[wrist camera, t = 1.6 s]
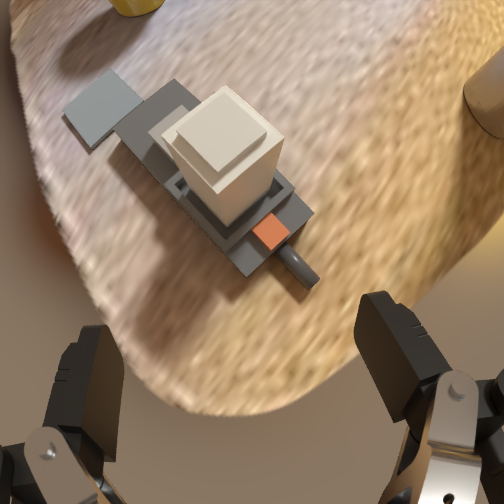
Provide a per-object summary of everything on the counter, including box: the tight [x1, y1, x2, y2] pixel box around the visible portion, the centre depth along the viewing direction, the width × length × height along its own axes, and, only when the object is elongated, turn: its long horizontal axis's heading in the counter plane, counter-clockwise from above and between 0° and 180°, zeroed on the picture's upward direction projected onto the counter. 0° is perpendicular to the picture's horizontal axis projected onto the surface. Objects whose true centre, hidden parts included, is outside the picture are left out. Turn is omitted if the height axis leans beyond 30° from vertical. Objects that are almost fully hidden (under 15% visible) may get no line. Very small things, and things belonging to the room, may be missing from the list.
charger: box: [161, 85, 285, 229], centre depth 20 cm, size 4×4×11 cm
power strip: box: [112, 79, 320, 290], centre depth 26 cm, size 7×22×4 cm, turn 43°
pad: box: [62, 68, 144, 149], centre depth 28 cm, size 7×7×1 cm
